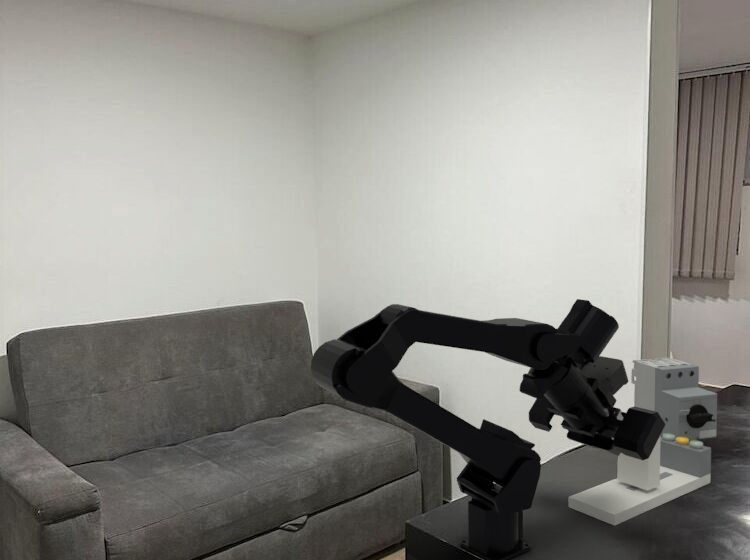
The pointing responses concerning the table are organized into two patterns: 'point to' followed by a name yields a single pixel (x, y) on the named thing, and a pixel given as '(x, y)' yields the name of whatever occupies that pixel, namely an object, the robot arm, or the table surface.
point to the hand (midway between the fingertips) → (617, 452)
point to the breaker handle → (640, 469)
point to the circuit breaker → (675, 397)
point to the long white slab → (677, 477)
